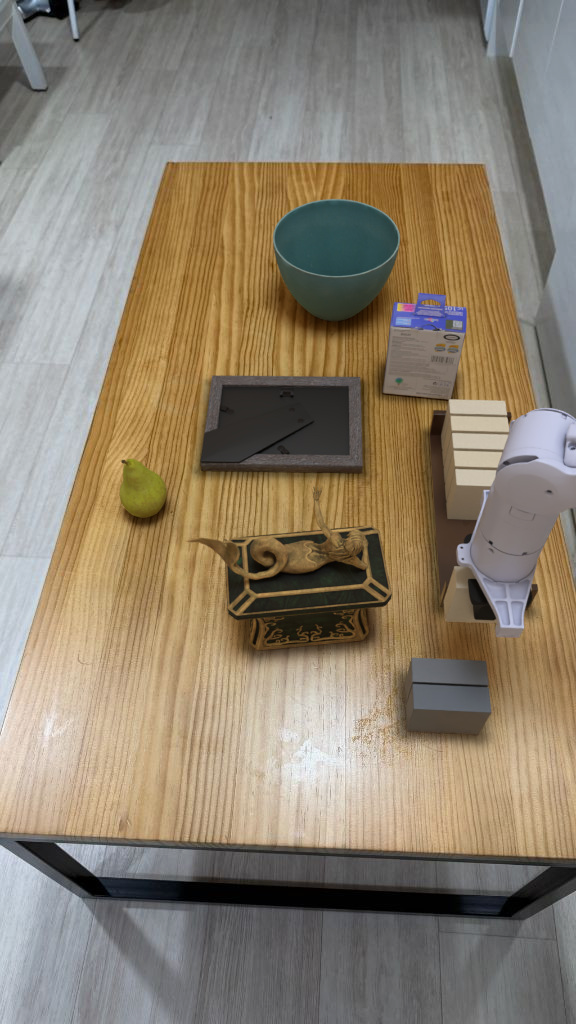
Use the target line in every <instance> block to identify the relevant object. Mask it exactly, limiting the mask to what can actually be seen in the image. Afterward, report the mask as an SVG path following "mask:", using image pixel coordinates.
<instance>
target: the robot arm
mask: <svg viewBox="0 0 576 1024" xmlns="http://www.w3.org/2000/svg"><path fill="white" fill-rule="evenodd" d="M480 507H481V511H480V514H479V517H478V520H477V523H476V526H475V529H474V532H473V533H471V534H468V535H467V536H466V537H465V539H464V544H459V545H458V547H457V550H456V555H457V563H458V565H460V566H462V567H469V568H470V569H471V570H472V572H473V574H474V576H475V578H476V579H468V589H469V597H470V601H471V603H472V605H473V613H474V619H475V620H495V619H497V623H495V627H494V631H495V632H494V633H495V637H496V638H507V639H514V638H515V639H519V638H520V637H521V635H522V633H523V631H524V630H525V620H524V619H525V618H524V617H525V612H526V610H525V607H528V606H529V605H530V603H531V601H532V592H531V585H532V584H533V581H534V577H535V573H536V569H537V567H538V566H537V565H538V560H539V557H540V556H541V553H542V551H543V549H544V547H545V545H546V543H547V540H548V539H549V536H550V534H551V533H552V530H553V528H554V526H555V524H556V522H557V520H558V518H559V516H560V514H561V513H564V512H566V511H568V510H570V509H576V418H575V417H574V416H573V415H571V414H570V413H568V412H566V411H564V410H562V409H558V408H552V407H540V408H535V409H533V410H529V411H528V412H527V413H525V414H521V415H520V416H519V417H517V418H516V419H513V420H512V419H511V420H510V423H509V435H508V438H507V441H506V444H505V447H504V449H503V452H502V455H501V458H500V461H499V464H498V467H497V470H496V477H495V480H494V481H493V483H492V485H491V488H490V490H483V493H482V496H481V500H480ZM532 602H533V601H532ZM531 604H532V603H531ZM530 606H531V605H530Z"/></svg>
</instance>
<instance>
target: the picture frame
mask: <svg viewBox="0 0 576 1024" xmlns="http://www.w3.org/2000/svg"><path fill="white" fill-rule="evenodd" d="M361 391H362V389H361V376H310V375H309V376H308V375H307V376H304V375H303V376H302V375H299V376H298V375H292V376H291V375H211V383H210V391H209V396H208V397H209V398H208V405H207V413H206V419H205V420H206V421H205V428H204V433H203V440H202V446H201V448H202V449H201V454H200V460H199V462H200V467H201V472H252V473H253V472H255V473H256V472H257V473H258V472H259V473H261V472H263V473H318V474H319V473H325V474H326V473H327V474H363V466H364V464H363V431H362V424H363V423H362V392H361Z"/></svg>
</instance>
